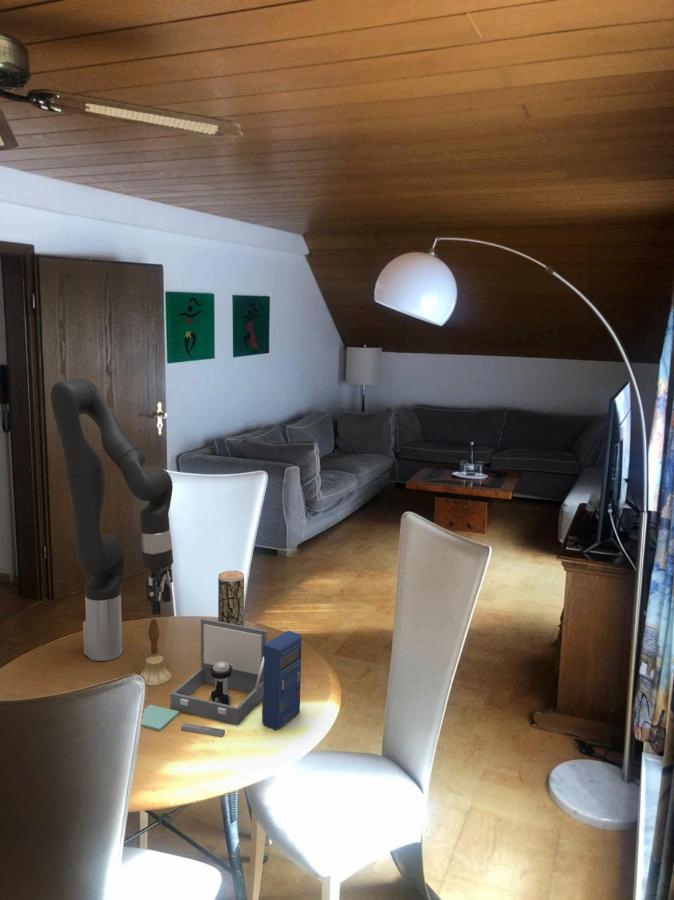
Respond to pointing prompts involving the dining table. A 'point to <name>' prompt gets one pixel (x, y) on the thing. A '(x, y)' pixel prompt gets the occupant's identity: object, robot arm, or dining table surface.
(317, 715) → the dining table surface
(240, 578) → the brown bark-textured cylinder
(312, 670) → the dining table surface
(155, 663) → the hand bell
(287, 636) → the electronic device
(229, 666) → the push button
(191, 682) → the case
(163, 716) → the pad
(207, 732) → the rod
